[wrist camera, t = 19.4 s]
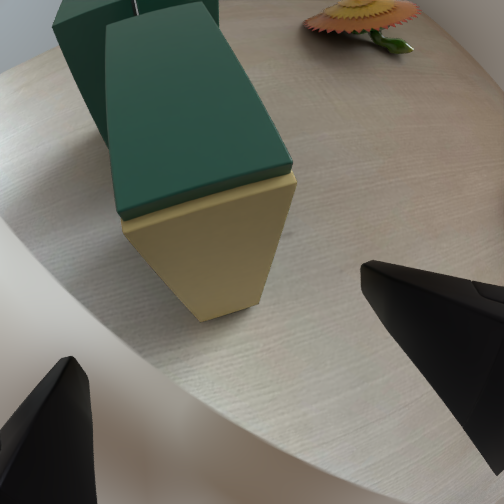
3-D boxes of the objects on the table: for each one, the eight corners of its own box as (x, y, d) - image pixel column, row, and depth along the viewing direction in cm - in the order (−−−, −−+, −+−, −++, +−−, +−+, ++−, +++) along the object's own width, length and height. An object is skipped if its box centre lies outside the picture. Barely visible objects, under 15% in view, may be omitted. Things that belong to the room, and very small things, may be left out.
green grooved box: (225, 161, 22) (218, -21, 9) (130, 190, 21) (51, 26, 8) (199, 94, 25) (186, -52, 12) (120, 117, 24) (71, -21, 11)
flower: (397, 23, 33) (380, -27, 26) (452, 54, 25) (438, -12, 18) (308, 53, 37) (283, 3, 31) (342, 90, 29) (312, 22, 23)
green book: (258, 305, 19) (302, 171, 6) (201, 323, 19) (115, 225, 5) (218, 191, 22) (203, 0, 8) (168, 205, 21) (104, 25, 8)
